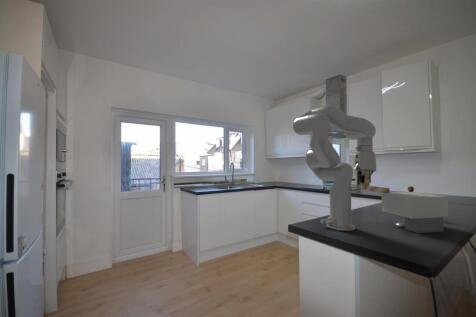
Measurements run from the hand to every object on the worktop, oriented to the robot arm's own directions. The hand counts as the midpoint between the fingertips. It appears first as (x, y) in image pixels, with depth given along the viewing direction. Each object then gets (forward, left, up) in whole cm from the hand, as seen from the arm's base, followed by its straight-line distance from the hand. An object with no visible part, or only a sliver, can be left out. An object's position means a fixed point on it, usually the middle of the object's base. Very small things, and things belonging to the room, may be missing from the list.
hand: (365, 182), depth 117 cm
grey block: (+14, -14, -21) cm, 29 cm away
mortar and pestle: (+32, +3, -21) cm, 39 cm away
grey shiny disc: (+11, -11, -21) cm, 26 cm away
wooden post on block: (0, -6, -4) cm, 8 cm away
